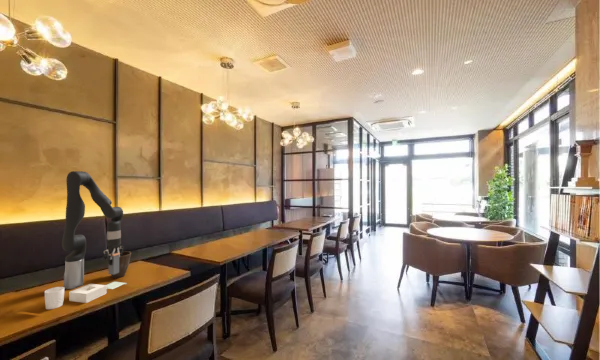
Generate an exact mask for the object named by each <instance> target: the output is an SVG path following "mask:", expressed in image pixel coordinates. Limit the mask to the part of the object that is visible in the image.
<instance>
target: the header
mask: <svg viewBox="0 0 600 360" xmlns="http://www.w3.org/2000/svg"><path fill="white" fill-rule="evenodd" d="M107 291H108V289H107V284H96V283H88V284H86V285H83V286H80V287H77V288H74V289H72V290H71V291H69V293H68V294H69V295H68V299H69V300H68V301H69V302H75V303H83V304H88V303H90V302H92V301H94V300H96V299H98V298H101V297H102V296H104V295H106V294H107Z"/></svg>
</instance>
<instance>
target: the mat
mask: <svg viewBox="0 0 600 360" xmlns="http://www.w3.org/2000/svg"><path fill="white" fill-rule="evenodd" d="M106 285H107V290H108V289H109V290H114V289H116V288H119V287H121V286H123V285H127V282H120V281H112V282H110V283H108V284H106Z"/></svg>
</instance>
